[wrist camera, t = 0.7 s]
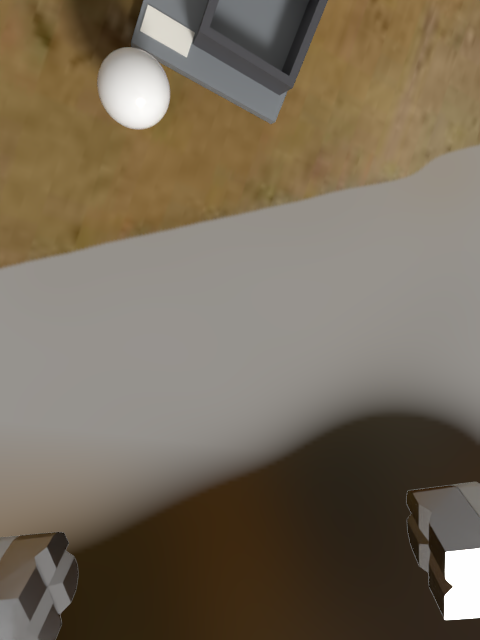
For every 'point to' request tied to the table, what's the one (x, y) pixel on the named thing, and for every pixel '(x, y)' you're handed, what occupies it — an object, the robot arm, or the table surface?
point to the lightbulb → (133, 88)
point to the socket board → (232, 45)
